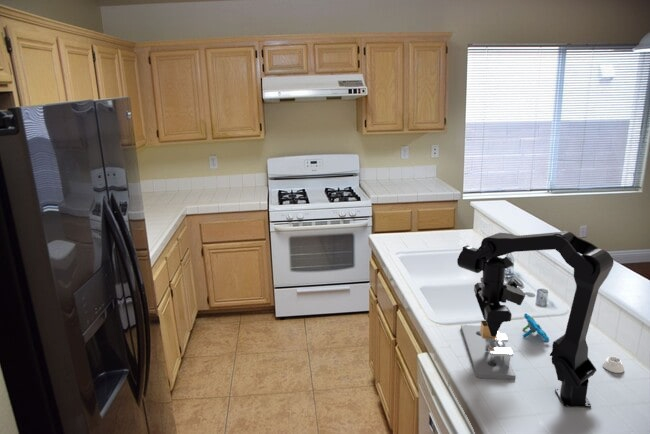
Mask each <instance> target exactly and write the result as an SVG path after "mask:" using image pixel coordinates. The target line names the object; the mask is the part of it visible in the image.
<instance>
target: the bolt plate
mask: <svg viewBox="0 0 650 434" xmlns="http://www.w3.org/2000/svg"><path fill="white" fill-rule="evenodd" d="M480 330H481V325H475V324H474V325H473V324H471V325H470V324H468V325H467V324H461V325H460V331H461V332H462V336H463V339H464V343H465V346H466V348H467V352H468V355H469V357H470V361H471V363H472V367H473V370H474V373H475V375H476V378H477V379H479V378H480V379H493V380H494V379H497V380H502V379H503V380H516V373H515V371H514V369H513V367H512V365H511V363H510V364H509V367H503V365H502V356H495V362H494V364H490V353H489V351H485V346H486V341H485V338H482V336H481V333H480ZM490 347H498V346H497V344H496V342H490Z"/></svg>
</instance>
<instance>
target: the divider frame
mask: <svg viewBox="0 0 650 434" xmlns="http://www.w3.org/2000/svg"><path fill="white" fill-rule="evenodd" d="M497 333H500V331H499V330H498V332H497ZM496 344H497V346H498V347H488V351H489V353H490V364H494V362H495V356H502V365H503V367H509V364H511V357H514V352H513V350H512V348H511V347H507V346H506V343H505V342H496Z"/></svg>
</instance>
